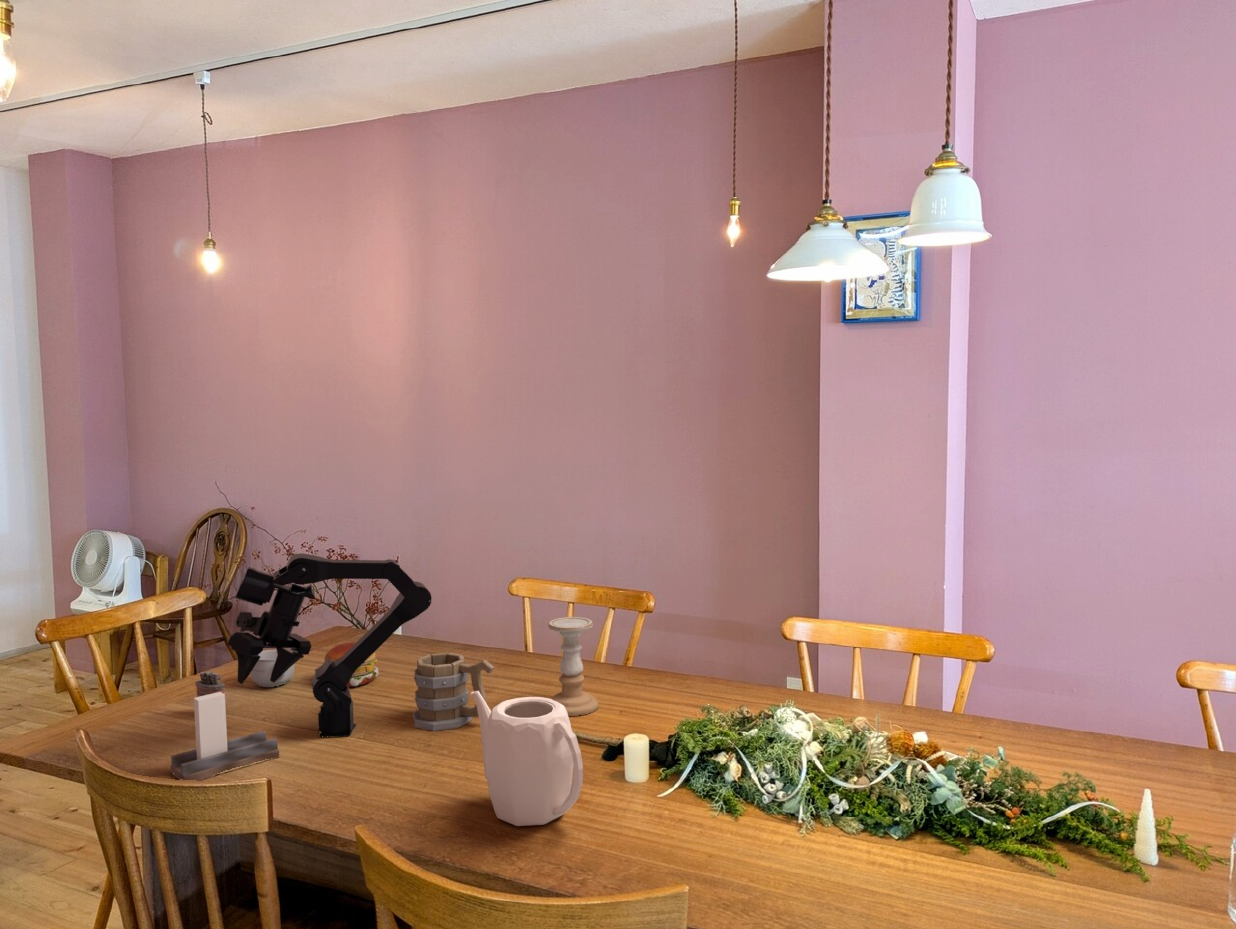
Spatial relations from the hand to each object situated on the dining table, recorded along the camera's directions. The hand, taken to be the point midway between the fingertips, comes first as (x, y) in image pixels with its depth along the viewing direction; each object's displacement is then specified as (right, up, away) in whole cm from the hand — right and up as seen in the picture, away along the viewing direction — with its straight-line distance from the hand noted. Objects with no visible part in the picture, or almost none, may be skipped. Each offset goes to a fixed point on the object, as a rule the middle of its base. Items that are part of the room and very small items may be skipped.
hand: (256, 682), depth 186 cm
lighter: (-18, -12, +18) cm, 28 cm away
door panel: (-4, -13, -12) cm, 18 cm away
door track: (-2, -14, -10) cm, 17 cm away
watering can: (+60, -15, -32) cm, 69 cm away
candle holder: (+65, -11, +20) cm, 69 cm away
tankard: (+40, -12, +11) cm, 43 cm away
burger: (+8, -10, +41) cm, 43 cm away
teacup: (-11, -11, +39) cm, 42 cm away
